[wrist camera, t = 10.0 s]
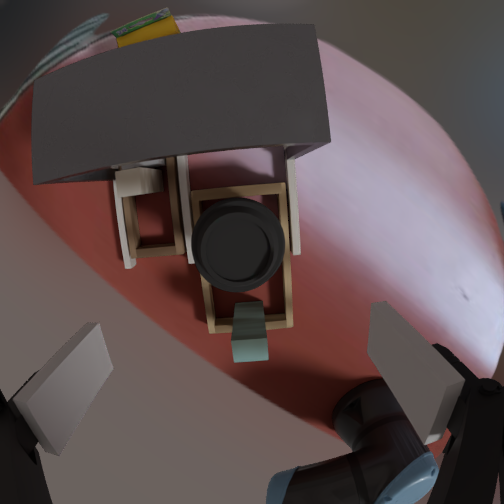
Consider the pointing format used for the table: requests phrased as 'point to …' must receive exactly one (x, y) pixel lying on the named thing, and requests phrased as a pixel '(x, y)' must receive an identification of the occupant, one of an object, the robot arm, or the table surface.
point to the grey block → (146, 164)
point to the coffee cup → (237, 244)
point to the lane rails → (188, 211)
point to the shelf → (180, 101)
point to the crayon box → (147, 28)
